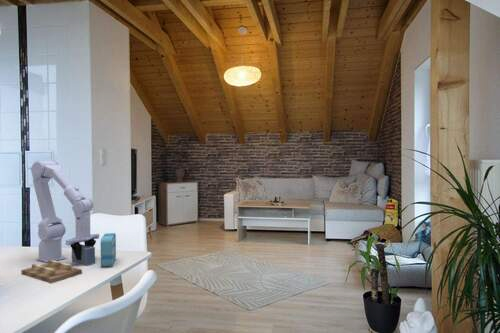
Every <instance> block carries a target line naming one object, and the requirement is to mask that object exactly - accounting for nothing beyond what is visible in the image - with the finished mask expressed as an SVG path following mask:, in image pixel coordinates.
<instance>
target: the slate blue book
mask: <svg viewBox="0 0 500 333" xmlns="http://www.w3.org/2000/svg"><path fill="white" fill-rule="evenodd" d="M73 262H74V264H78V265H80V266H81V265H82V266H85V267H87V266H91V265H94V264H96V247H95V246H94V247H91V246H86V245H85V244H82V249H81V260H76V256H75V253H74V251H73V249H72V248H71V263H73Z"/></svg>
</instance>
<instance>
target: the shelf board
mask: <svg viewBox="0 0 500 333" xmlns="http://www.w3.org/2000/svg"><path fill="white" fill-rule="evenodd" d="M20 272H21V273H20V274H21V275H24V276H27V277H30V278H32V279H33V278H34V279H37V280H40V281H43V282H46V283H49V284H53V283H56V282H60V281H62V280H63V281H64V280H65V279H69V278H73V277H75V276H79V275H81V274H82V272H83V269H80V268H76V267H73V266H72V264H69V263H65V262H62V261H59V260H57V261H54V260H48V262H45V263H42V264H36V263H32V264H31V267H27V268H24V269H21V271H20Z"/></svg>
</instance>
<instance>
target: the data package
mask: <svg viewBox="0 0 500 333" xmlns="http://www.w3.org/2000/svg"><path fill="white" fill-rule="evenodd" d="M116 236H117V234H116V232H115V233H113V232H112V233H111V232H110V233H104V234H103V236H102V237H101V238H100V267H102V268H106V267H114V266H113V265H114V264H115V261H116V258H117V253H116V252H117V251H116V250H117V242H116V241H117V238H116Z"/></svg>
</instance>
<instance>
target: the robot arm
mask: <svg viewBox="0 0 500 333" xmlns="http://www.w3.org/2000/svg"><path fill="white" fill-rule="evenodd" d="M30 171H31V174H32V183H33V187H34V192H35V195H36V200H37V203H38V207H39V212H40V216H41V221H40V222H39V223H38V224H37V228H38V232H37V235H38V238H39V240H40V242H39V244H38V257H37V258H36V260H38V261H41V262H44V263H48V260H54V261H60V260H64V259H67V256H63V255H62V239H63V237H64V235H65V234H66V231H67V230H66V226H65V225H64V223H63V220H62V219H61V218H60V217H58V216H57V215H56V211H55V206H54V202H53V198H52V193H51V190H50V186H49V182H50V181H51V180H52V179H54V181H55V182H56V183H57V184H58V185H59V186H60V187H61V189H62V190H63V195H64V196H65V197H66V199H67V200H68V201H69V203H71V205H72V206H71V209H72V212H73V214H74V218H75V237H73V238H69V239H67V240H65V245H66V246H69V247H70V248H71V250H72V249H73V251H74V253H75V256H76V260H81V249H82V245H83V244H81V243H84V245H86V246H91V247H95V245H96V243H97V241H96V239H97V240H98V239H100V233H94V234H93V233H92V234H91V211H92V210H93V208H94V202H93V200H92V199H91V198H88V197H86V196H85V195H84V194H83V193H82V192H81V190H80V188H79V187H78V186H76V185H72V183H71V182H70V181H69V178H67V176H66V175H65V173H64V172H63V170H62V166H61V164H60V163H59V162H58V161H57V160H36V161H34V162H33V164H32V165H31V167H30Z"/></svg>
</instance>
